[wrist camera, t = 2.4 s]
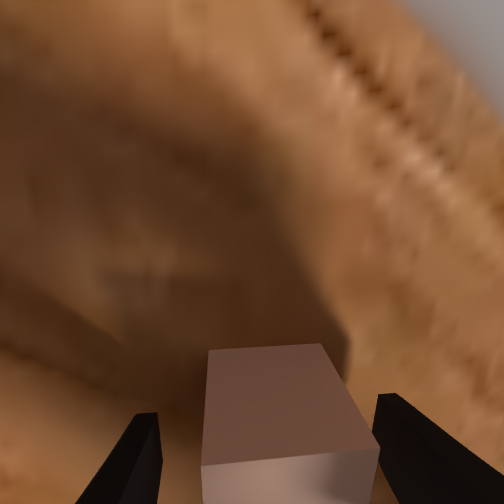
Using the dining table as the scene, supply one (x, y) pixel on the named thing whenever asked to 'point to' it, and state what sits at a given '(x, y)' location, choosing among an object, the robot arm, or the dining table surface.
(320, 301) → the dining table surface
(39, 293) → the dining table surface
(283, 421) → the terracotta cube
